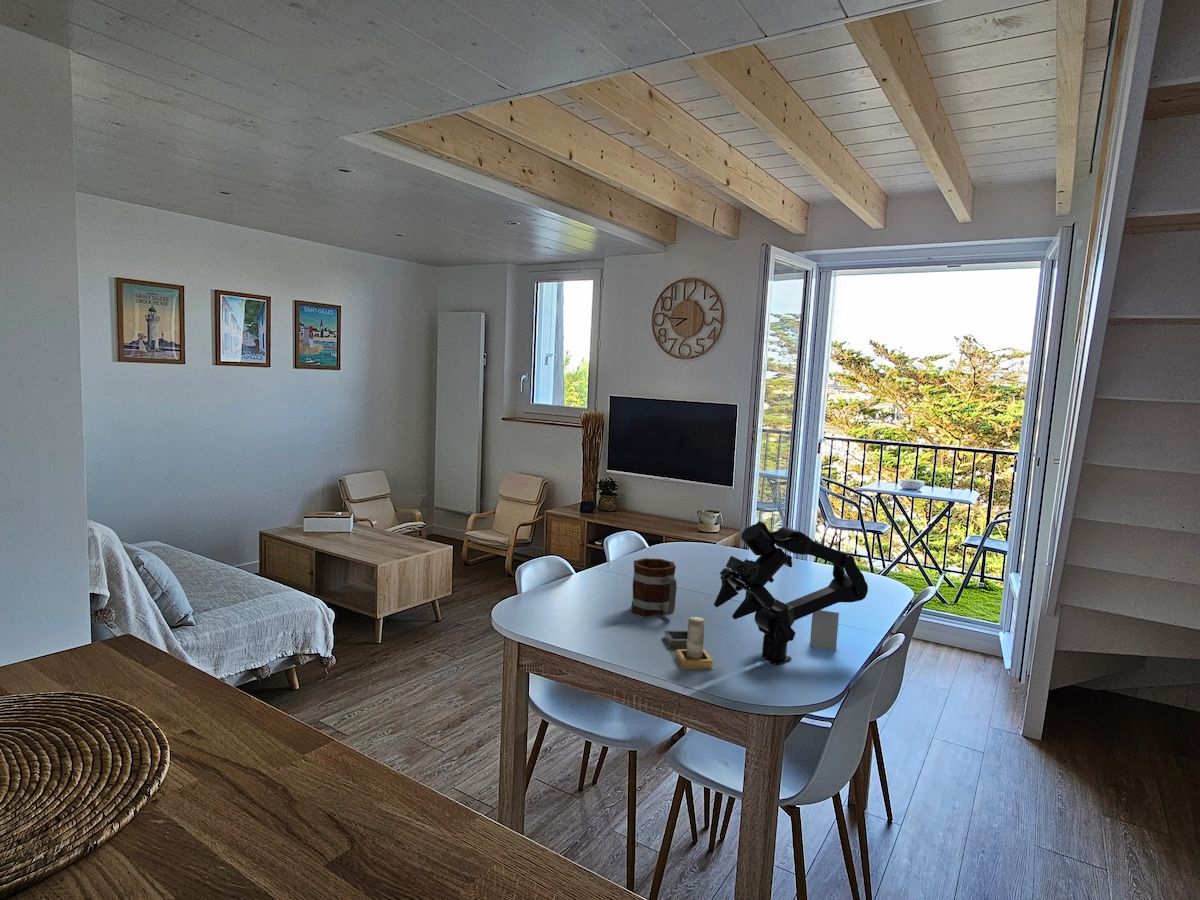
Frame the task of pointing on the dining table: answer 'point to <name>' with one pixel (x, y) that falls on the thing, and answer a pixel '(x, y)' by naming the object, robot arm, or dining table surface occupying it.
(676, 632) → the grey socket board
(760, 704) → the dining table surface
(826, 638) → the beige rectangular block
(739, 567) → the robot arm
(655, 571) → the mug
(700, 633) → the peg
